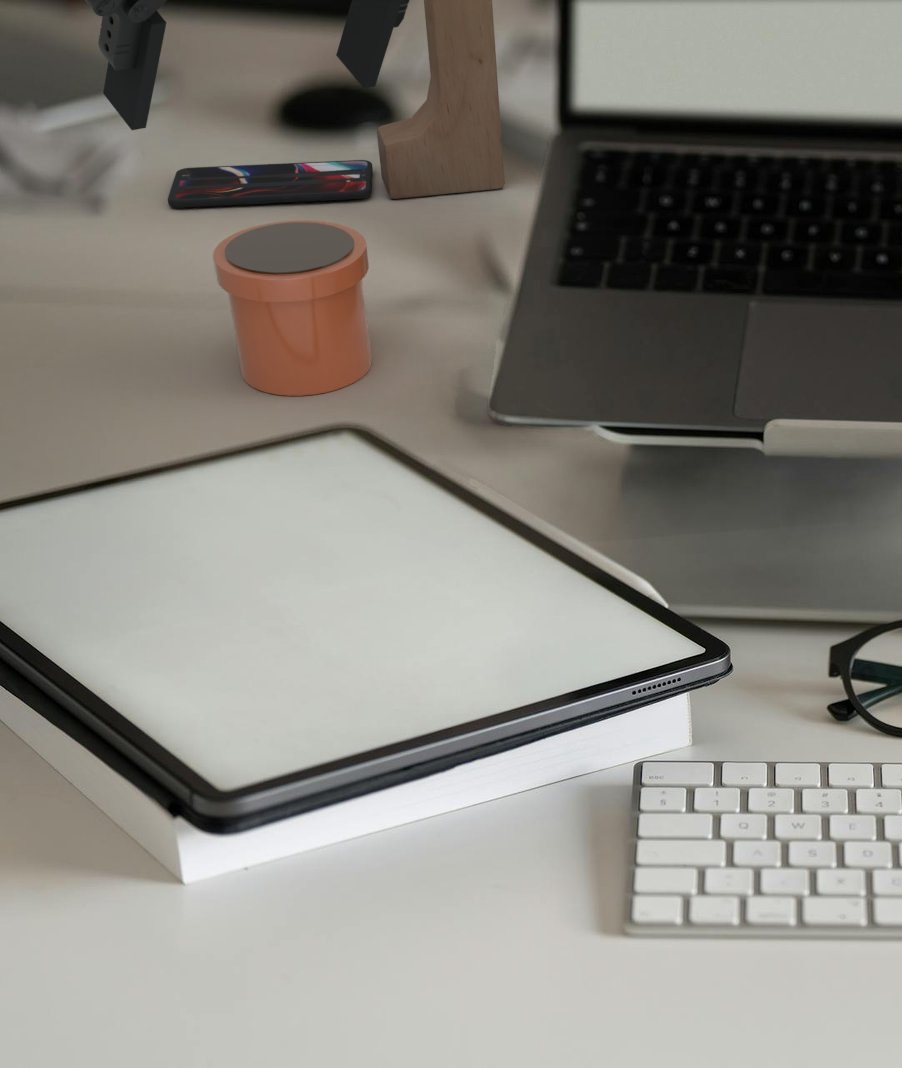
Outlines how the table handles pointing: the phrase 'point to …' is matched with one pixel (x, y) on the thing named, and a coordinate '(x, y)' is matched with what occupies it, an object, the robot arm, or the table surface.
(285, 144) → the table surface
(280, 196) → the smartphone
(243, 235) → the flower pot
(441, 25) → the wooden block
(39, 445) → the table surface
